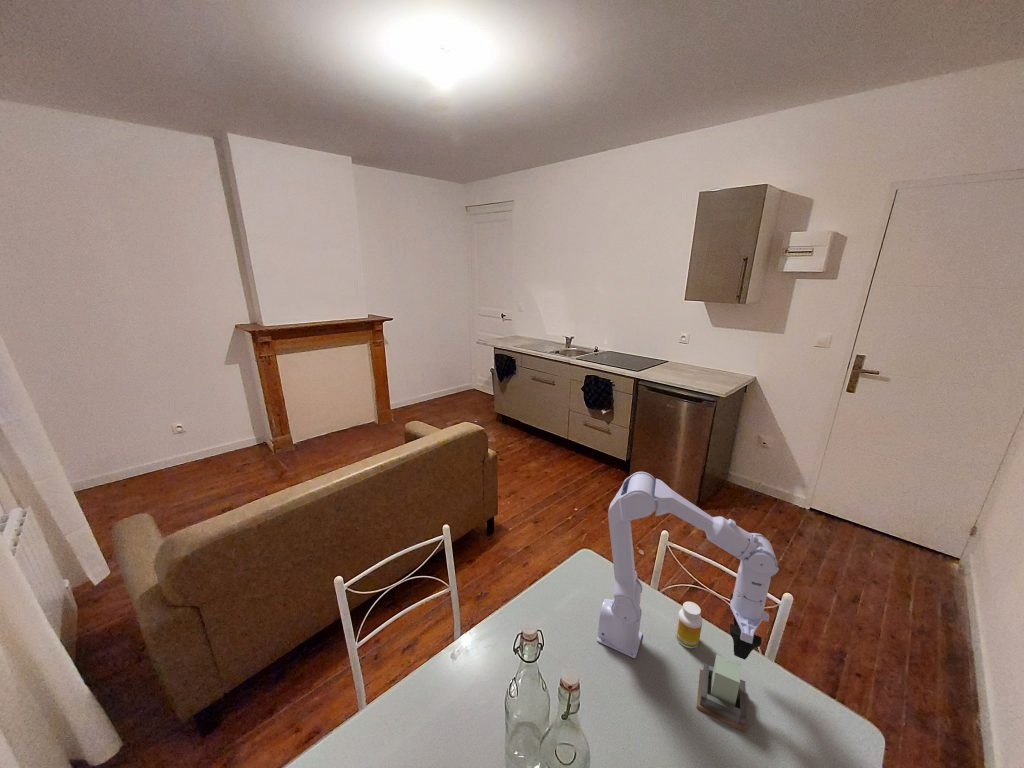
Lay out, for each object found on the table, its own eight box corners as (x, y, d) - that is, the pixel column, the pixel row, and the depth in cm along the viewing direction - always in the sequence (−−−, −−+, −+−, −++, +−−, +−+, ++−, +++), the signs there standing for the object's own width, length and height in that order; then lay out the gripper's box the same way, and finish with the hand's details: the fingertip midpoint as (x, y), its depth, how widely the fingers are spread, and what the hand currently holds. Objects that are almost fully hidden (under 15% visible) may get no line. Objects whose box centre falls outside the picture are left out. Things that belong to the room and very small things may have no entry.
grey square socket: (696, 708, 80) (698, 696, 80) (699, 671, 88) (701, 660, 87) (746, 732, 76) (749, 720, 75) (745, 692, 84) (747, 680, 83)
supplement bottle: (701, 651, 93) (707, 619, 90) (677, 646, 94) (682, 614, 91) (695, 631, 98) (700, 600, 96) (673, 628, 99) (677, 597, 97)
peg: (709, 701, 81) (715, 672, 79) (710, 682, 85) (716, 654, 83) (733, 712, 79) (740, 682, 77) (733, 693, 83) (739, 664, 81)
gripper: (776, 625, 73) (763, 679, 76) (770, 576, 85) (759, 625, 89) (733, 610, 76) (723, 662, 80) (734, 564, 88) (724, 612, 92)
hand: (739, 642), depth 84 cm, fingers open, 7 cm apart
